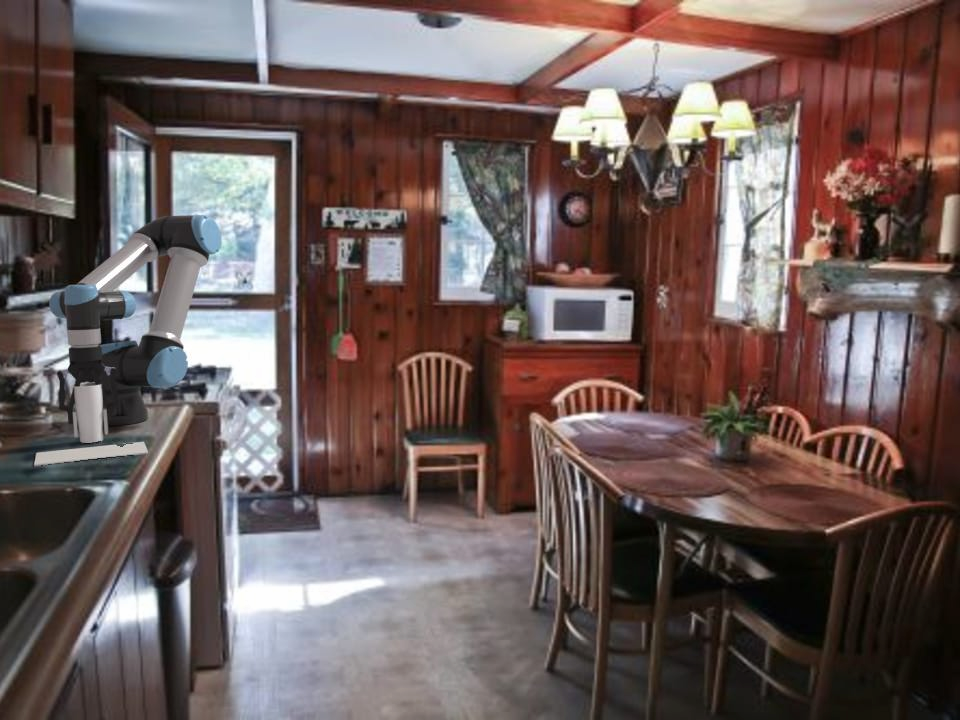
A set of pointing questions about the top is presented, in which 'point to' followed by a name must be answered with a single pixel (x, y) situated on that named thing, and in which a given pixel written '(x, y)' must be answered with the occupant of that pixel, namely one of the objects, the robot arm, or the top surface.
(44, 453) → the rubber mat
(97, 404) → the white cup
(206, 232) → the robot arm
